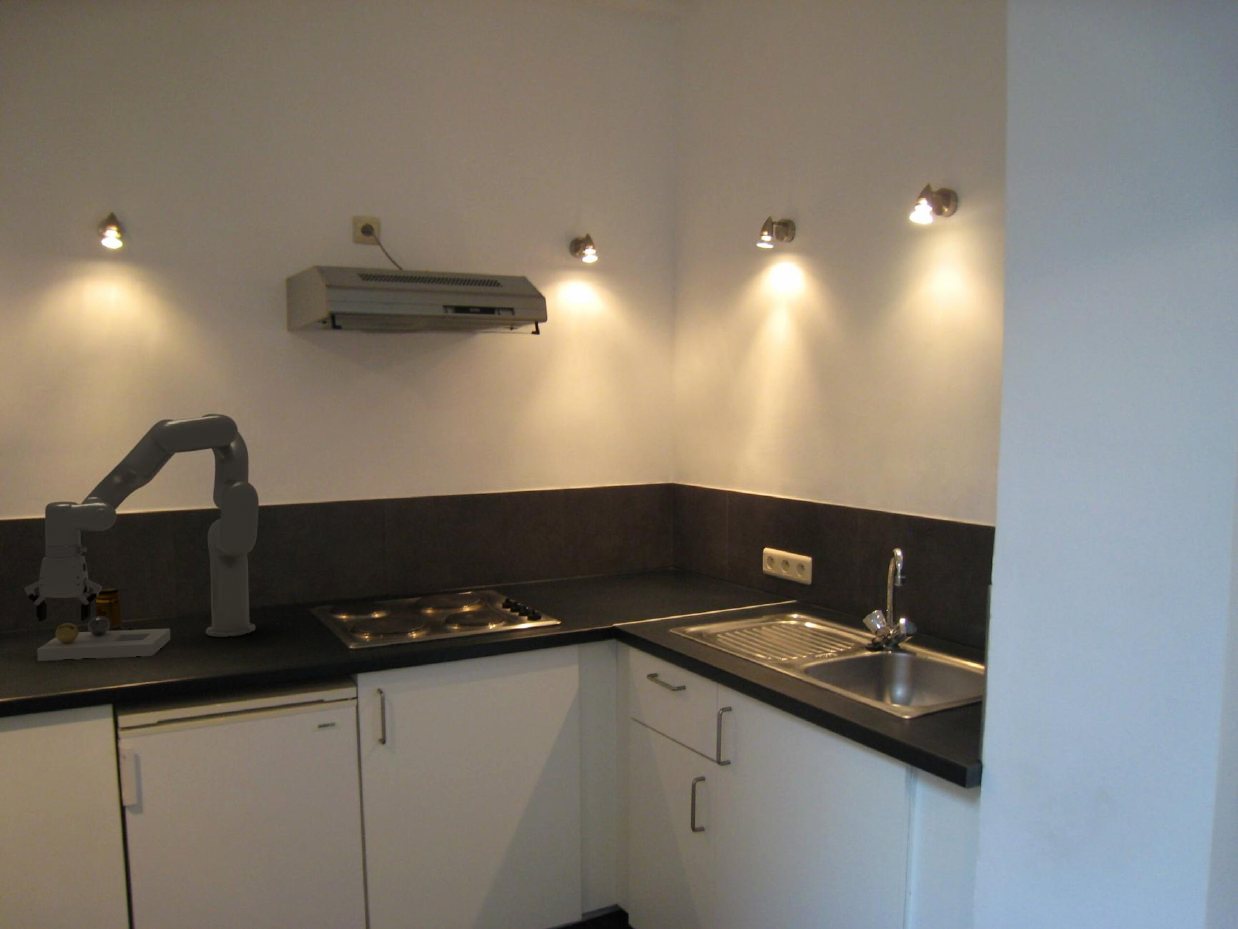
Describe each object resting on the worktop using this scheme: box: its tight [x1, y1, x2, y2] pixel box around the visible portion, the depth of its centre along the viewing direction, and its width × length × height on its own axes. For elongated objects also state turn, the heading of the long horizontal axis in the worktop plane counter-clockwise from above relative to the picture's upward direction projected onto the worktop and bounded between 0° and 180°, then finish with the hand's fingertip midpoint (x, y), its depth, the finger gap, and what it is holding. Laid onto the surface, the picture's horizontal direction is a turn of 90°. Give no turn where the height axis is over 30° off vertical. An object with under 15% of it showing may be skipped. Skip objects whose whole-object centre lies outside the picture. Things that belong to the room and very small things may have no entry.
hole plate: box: [36, 628, 171, 662], centre depth 239 cm, size 16×26×3 cm, turn 101°
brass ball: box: [55, 622, 80, 643], centre depth 234 cm, size 5×5×5 cm
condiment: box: [95, 587, 123, 631], centre depth 257 cm, size 7×8×12 cm
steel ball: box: [87, 615, 110, 635], centre depth 242 cm, size 5×5×5 cm
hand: (63, 619), depth 234 cm, fingers open, 9 cm apart
